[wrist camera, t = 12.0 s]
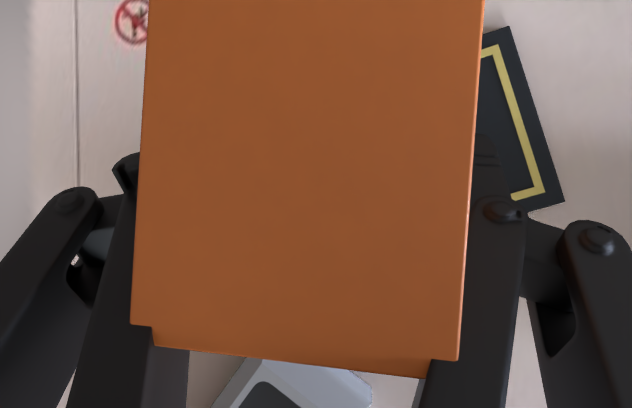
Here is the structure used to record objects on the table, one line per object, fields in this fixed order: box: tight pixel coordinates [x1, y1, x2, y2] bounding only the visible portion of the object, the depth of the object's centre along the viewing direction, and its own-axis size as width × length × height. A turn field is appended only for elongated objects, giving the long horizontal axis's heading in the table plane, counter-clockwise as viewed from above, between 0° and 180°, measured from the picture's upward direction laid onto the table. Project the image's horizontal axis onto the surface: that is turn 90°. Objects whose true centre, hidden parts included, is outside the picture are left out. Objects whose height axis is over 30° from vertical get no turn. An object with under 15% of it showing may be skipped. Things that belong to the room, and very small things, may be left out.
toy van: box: [130, 0, 485, 379], centre depth 13 cm, size 10×6×12 cm, turn 176°
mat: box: [475, 26, 565, 212], centre depth 30 cm, size 20×14×1 cm
